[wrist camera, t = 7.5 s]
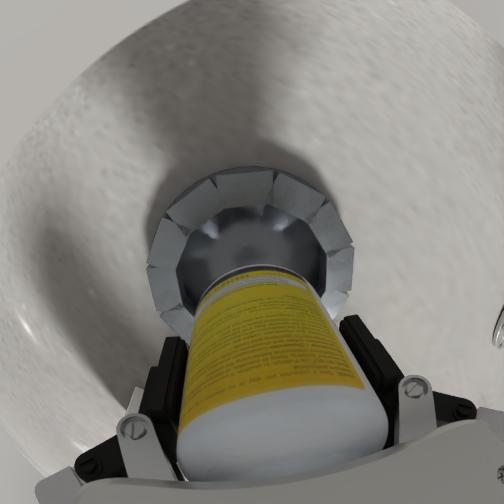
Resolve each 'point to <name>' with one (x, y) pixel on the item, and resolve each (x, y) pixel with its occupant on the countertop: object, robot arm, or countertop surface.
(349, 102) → the countertop surface
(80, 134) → the countertop surface
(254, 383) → the pill bottle
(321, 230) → the collar
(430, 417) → the robot arm
